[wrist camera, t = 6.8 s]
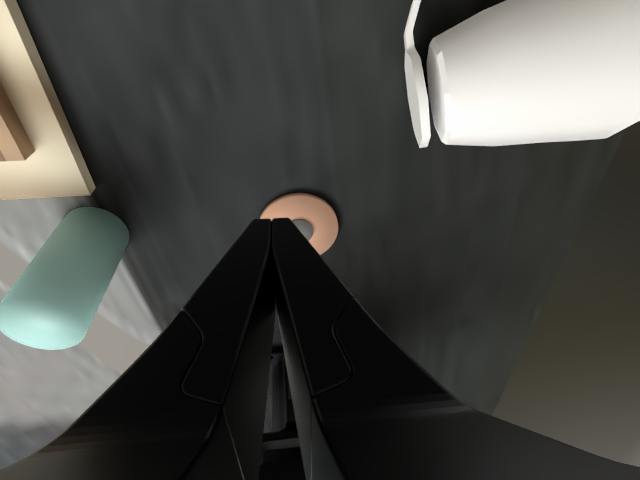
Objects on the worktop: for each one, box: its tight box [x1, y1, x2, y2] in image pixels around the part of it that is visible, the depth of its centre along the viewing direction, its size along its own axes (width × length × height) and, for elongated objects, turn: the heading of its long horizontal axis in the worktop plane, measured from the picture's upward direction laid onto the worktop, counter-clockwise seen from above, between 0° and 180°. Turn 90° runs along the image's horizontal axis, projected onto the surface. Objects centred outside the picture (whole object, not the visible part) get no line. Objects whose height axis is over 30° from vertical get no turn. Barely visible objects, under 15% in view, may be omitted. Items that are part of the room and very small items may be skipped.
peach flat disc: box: [259, 193, 338, 255], centre depth 23 cm, size 5×5×1 cm
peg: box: [0, 207, 130, 350], centre depth 20 cm, size 4×4×7 cm
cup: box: [404, 0, 640, 148], centre depth 16 cm, size 7×10×8 cm
